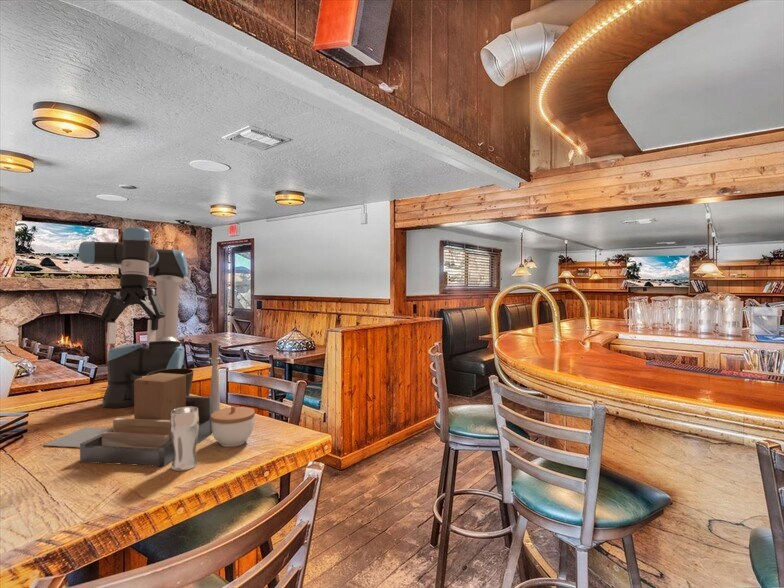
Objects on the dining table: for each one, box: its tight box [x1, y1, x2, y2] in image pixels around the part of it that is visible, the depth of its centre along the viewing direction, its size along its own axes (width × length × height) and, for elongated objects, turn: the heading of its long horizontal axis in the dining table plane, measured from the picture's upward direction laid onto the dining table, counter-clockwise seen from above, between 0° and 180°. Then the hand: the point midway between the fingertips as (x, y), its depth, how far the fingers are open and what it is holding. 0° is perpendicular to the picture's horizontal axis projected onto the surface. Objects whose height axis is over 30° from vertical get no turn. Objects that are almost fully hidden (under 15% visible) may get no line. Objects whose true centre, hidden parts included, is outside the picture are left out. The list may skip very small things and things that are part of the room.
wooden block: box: [133, 373, 186, 420], centre depth 124 cm, size 10×10×20 cm
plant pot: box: [147, 367, 195, 396], centre depth 148 cm, size 15×15×16 cm
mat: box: [42, 426, 113, 448], centre depth 127 cm, size 15×15×1 cm
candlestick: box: [209, 338, 221, 413], centre depth 141 cm, size 13×13×30 cm
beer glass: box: [170, 406, 199, 472], centre depth 108 cm, size 7×7×15 cm
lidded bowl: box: [211, 405, 256, 448], centre depth 125 cm, size 13×13×11 cm
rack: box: [79, 395, 213, 467], centre depth 120 cm, size 24×24×12 cm
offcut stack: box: [102, 417, 171, 449], centre depth 114 cm, size 8×19×9 cm, turn 85°
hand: (130, 342), depth 126 cm, fingers open, 13 cm apart
